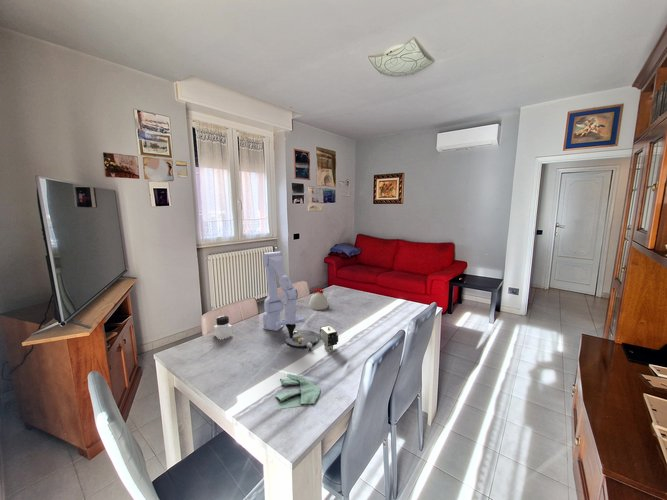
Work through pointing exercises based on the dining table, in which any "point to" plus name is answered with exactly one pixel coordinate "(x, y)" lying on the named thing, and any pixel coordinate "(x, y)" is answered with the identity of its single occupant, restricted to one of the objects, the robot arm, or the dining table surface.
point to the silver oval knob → (309, 346)
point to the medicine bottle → (223, 328)
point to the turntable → (303, 338)
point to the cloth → (298, 392)
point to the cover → (296, 335)
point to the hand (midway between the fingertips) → (290, 337)
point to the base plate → (305, 346)
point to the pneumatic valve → (328, 337)
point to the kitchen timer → (318, 301)
